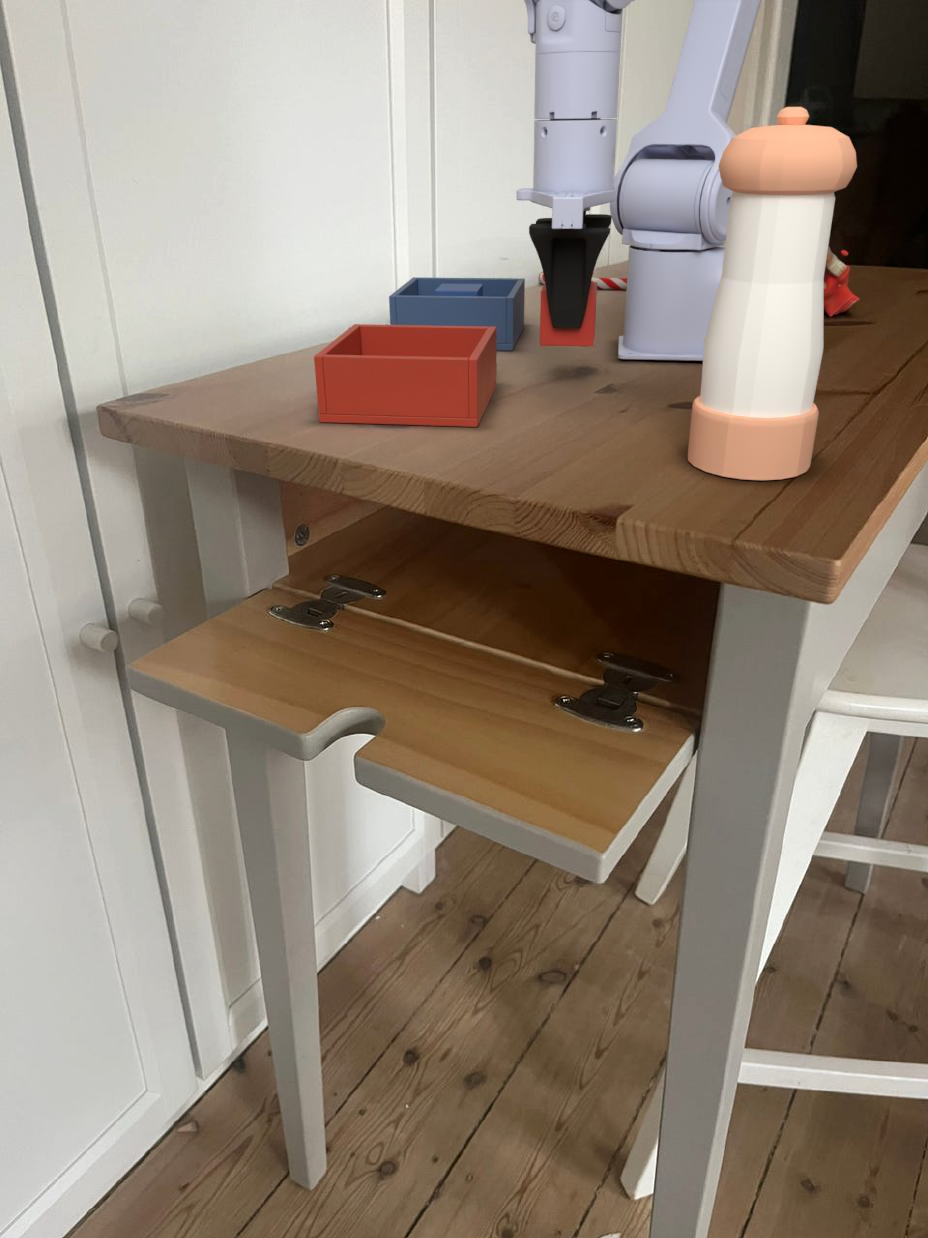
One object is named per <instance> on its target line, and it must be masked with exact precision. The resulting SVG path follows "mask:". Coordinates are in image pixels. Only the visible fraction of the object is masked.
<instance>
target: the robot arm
mask: <svg viewBox="0 0 928 1238" xmlns="http://www.w3.org/2000/svg"><path fill="white" fill-rule="evenodd" d="M634 1H635V0H523V2H524V4H525V8H526V13H527V34H528V35H529V40H530V42H531V44H534V45H535V49H534V50H535V51H534V56H535V57H534V66H535V67H534V106H533V107H534V109H533V110H534V115H533V120H534V121H533V169H532V170H533V173H532V174H533V175H532V177H533V179H532V187H526V188H523V187H522V188H518V189H517V190H516V201H530V202H531V203H533V204H536V205H539V206H542V207H547V208H549V209H551V211H552V212H551V217H540V218H537V219H536V221H535V223H531V224H530V225H529V226H528V235H529V237H530V240H531V242H532V244H533V246H534V248H535V250H536V254H537V256H538V259H539V262H540V265H541V270H542V272H543V274H544V279H545V284H546V292H547V299H548V306H549V312H550V318H551V322H552V326H553V328H581V325H582V322H583V319H584V315H585V311H586V306H587V301H588V295H589V290H590V284H591V279H592V278H593V275H594V271H595V268H596V265H597V261H598V259H599V256H600V254H601V251H602V250H603V247H604V245H605V243H606V242H607V239H608V237H609V235H610V233H611V228H610V226H611V225H612V223H613V225H614V228H615V230H616V231H617V233H619V234H620V235H621V244H622V245H627V246H629V247H628V261H627V277H626V278H627V290H625V292H626V293H625V307H624V323H623V324H624V325H623V335H619V336H618V344H617V345H618V347H617V358H618V359H619V360H638V361H640V360H642V361H647V360H648V361H683V362H684V361H687V362H688V361H689V362H703V353H704V341H705V337H706V333H707V329H708V326H709V322H710V318H711V314H712V310H713V306H714V302H715V299H716V295H717V291H718V287H719V283H720V279H721V275H722V268H723V259H724V251H725V247H717V246H721V245H724V241H725V240H726V233H727V225H728V216H729V207H730V199H731V195H732V193H733V191H732V190H730V189H727V188H725V187H724V186H723V183H722V180H721V177H720V171H719V163H720V160H721V157H722V154H723V151H724V150H725V148H726V147H727V146H728V144H729V143H730V141H731V140H732V138H733V137H735V136H737V135H738V134H736V133H735V132H734V131H733V129H732V128H730V126H729V125H728V121H729V117H730V114H731V110H732V107H733V103H734V99H735V96H736V92H737V89H738V85H739V81H740V77H741V75H742V71H743V67H744V63H745V61H746V56H747V53H748V49H749V46H750V42H751V39H752V36H753V32H754V28H755V25H756V21H757V18H758V14H759V10H760V6H761V3H762V0H694V2H693V6H692V9H691V13H690V17H689V21H688V24H687V28H686V32H685V36H684V38H683V43H682V46H681V50H680V53H679V57H678V62H677V65H676V69H675V73H674V77H673V79H672V83H671V87H670V91H669V94H668V98H667V100H666V101H667V102H666V105H665V109H664V111H663V112H662V113H661V114H660V115H659V116H658V117H656V118H655V119H653V120H652V121H651V122H649V123H648V124H646V125H645V126H644V127H643V128H641V129H640V130H639V131H637V133H635V134H634V135H633V136H632V137H631V141H630V144H629V148H628V151H627V154H626V156H625V159H624V160H623V162H622V164H621V165H620V167H619V168H618V170H617V172H616V174H615V167H616V166H615V165H616V164H615V163H616V147H617V145H616V144H617V129H618V128H617V127H618V126H617V125H618V119H617V118H618V105H619V88H620V87H619V86H620V69H621V66H620V65H621V51H622V50H621V49H622V47H621V46H622V32H623V31H622V30H623V29H622V28H623V14H624V13H623V12H624V11H623V9H626V8H627V7H628V6H630V4H631V3H632V2H634ZM606 204H609V212H610V214H606V213H605V214H603V213H591V214H590V213H588V214H587V212H590V211H591V208H593V207H597V206H601V205H606Z"/></svg>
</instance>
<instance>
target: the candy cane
mask: <svg viewBox="0 0 928 1238" xmlns="http://www.w3.org/2000/svg"><path fill="white" fill-rule="evenodd" d="M537 279H538V281H539V283H540V284H542V285H544V283H545V279H544V274H543V271H541V272H540V273H539V274H538V277H537ZM591 282H597V290H611V291H612V290H614V291H617V290H619V291H621V290H623V291H624V290H625V291H626V290H627V277H626V278H625V277H592V279H591Z"/></svg>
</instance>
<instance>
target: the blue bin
mask: <svg viewBox="0 0 928 1238" xmlns="http://www.w3.org/2000/svg"><path fill="white" fill-rule="evenodd" d="M441 284H483V296H435V290H436V289H437V288H438V287H439V286H440V285H441ZM525 285H526V279H525V278H523V277H522V278H518V277H517V278H515V277H511V278H510V277H509V278H508V277H505V278H504V277H502V278H501V277H416V276H415V277H412V278H410V279H409V280H408V281H406V283H403V285H401V286H400V287H399V288H398V289H396V290H395V291H393V293H391V294H390V295H389V296H388V302H389V303H388V304H389V305H388V306H389V323H390V324H389V325H431V326H488V327H489V326H495V327H497V347H496V351H506V352H507V351H509V352H511V351H512V352H513V350H514V348H515V346H516V345H517V342H518V340H519V337H520V336H521V334H522V331H523V329H524V327H525V291H526V290H525V289H526V288H525Z"/></svg>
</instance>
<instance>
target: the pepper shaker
mask: <svg viewBox="0 0 928 1238" xmlns="http://www.w3.org/2000/svg"><path fill="white" fill-rule="evenodd" d="M809 118H810V114H809V112H808V110H807V109H806V108H804V107H803V106H786V107H784V108H782V109H780V111H779V112H778V113H777V115H776V121H777V124H773V125H764V126H756V127H755V126H754V127H750V128H748V129H747V130H745V131H742V132H741V133H739V134H736V135H737V136H735V137H733V138H732V140H731V141H730V143H729V144H728V146H727V147H726V148H725V150H724V151H723V154H722V157H721V160H720V163H719V171H720V177H721V180H722V183H723V186H724V187H725V188H727V189H730V190H732V191H733V193H732V195H731V199H730V207H729V216H728V225H727V233H726V242H725V251H724V259H723V268H722V275H721V279H720V283H719V287H718V291H717V295H716V299H715V302H714V306H713V310H712V314H711V318H710V322H709V326H708V329H707V333H706V337H705V341H704V353H703V361H702V367H701V368H702V369H701V381H700V394H699V395H698V396H697V397H696V398H695V399H694V400H693V401H692V405H691V406H692V408H691V417H690V425H689V426H690V428H689V437H688V447H687V461H688V462H689V463H690V464H691V465H692V466H693V467H695V468H696V469H699V470H701V471H703V472H706V473H709V474H712V475H716V476H719V477H722V478H723V477H724V478H729V479H730V478H731V479H737V480H748V481H775V480H777V481H778V480H785V479H786V480H787V479H790V478H797V477H798V476H801V475H803V474H804V473H806V472H807V471H808V470H809V469H810V468H811V466H812V465H811V464H812V459H813V453H814V445H815V441H816V434H817V427H818V421H819V415H820V413H819V409H818V406H817V404H816V403H814V401H815V395H816V390H817V385H818V380H819V375H820V369H821V365H822V364H821V363H822V359H823V354H824V344H825V343H824V342H825V341H824V340H825V339H824V337H825V335H824V332H825V331H824V330H825V329H824V326H825V325H824V322H825V321H824V319H825V318H824V317H825V315H824V313H825V310H824V272H825V265H826V258H827V252H828V246H830V245H829V244H830V238H831V230H832V222H833V217H834V210H835V204H836V203H835V202H836V196H835V192H837V191H840V190H843V189H845V188H847V186H848V185H849V184H850V182H851V181H852V179H853V176H854V174H855V172H856V170H857V168H858V162H857V152H856V149H855V147H854V145H853V143H852V139H851V138H850V136H848V135H847V134H844V133H842V132H840V131H839V130H838V129H837V128H834V127H832V126H824V125H812V124H807V122H808V120H809Z"/></svg>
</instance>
